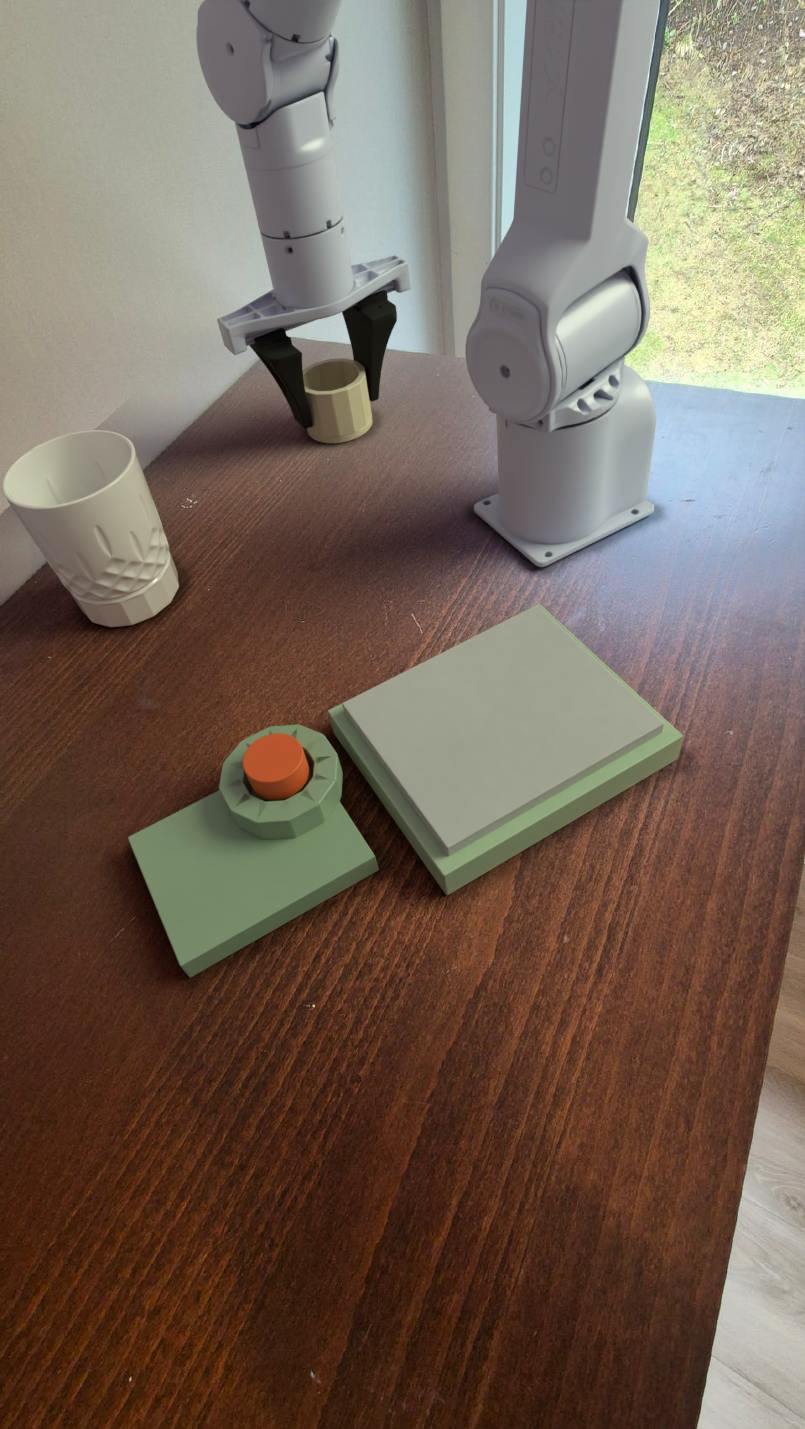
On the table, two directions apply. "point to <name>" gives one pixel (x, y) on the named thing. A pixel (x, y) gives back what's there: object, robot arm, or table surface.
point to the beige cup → (337, 400)
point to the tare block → (251, 856)
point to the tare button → (276, 766)
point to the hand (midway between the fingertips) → (337, 408)
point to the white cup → (95, 524)
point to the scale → (500, 743)
